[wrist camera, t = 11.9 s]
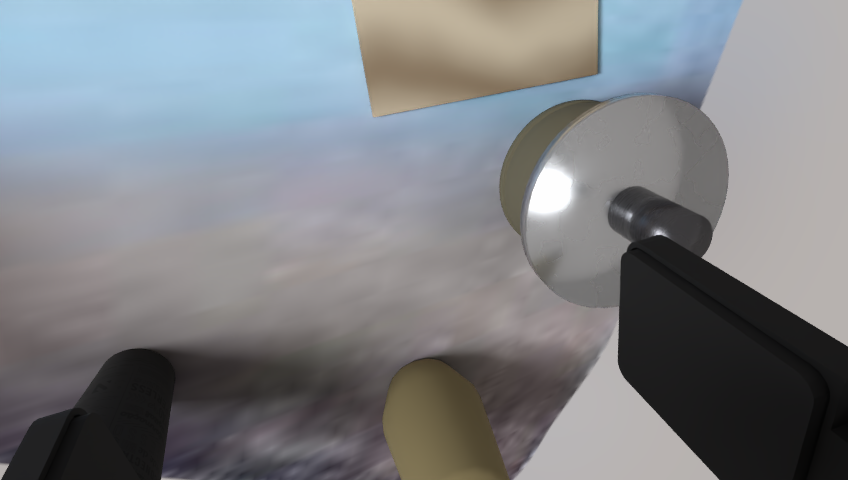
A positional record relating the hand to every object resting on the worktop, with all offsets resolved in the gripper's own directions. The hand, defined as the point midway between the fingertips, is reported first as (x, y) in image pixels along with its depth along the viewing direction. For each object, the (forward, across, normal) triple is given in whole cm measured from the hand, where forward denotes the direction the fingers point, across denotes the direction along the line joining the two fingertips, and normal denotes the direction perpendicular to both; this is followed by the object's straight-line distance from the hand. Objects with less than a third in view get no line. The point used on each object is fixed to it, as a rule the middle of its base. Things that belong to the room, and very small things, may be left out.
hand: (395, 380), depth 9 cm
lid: (+19, -18, +9) cm, 28 cm away
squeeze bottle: (+26, -4, +25) cm, 36 cm away
